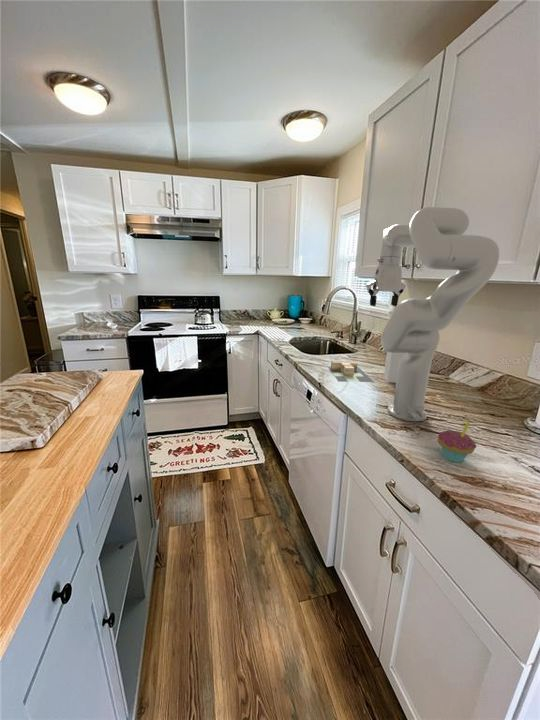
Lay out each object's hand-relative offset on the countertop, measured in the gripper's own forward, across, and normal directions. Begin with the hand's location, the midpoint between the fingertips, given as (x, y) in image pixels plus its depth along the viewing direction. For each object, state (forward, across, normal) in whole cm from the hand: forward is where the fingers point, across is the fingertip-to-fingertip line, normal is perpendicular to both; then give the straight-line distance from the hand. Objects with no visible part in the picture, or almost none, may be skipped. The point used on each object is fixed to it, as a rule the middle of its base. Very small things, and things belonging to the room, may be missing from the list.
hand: (383, 305), depth 122 cm
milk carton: (+35, +11, 0) cm, 37 cm away
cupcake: (+33, -9, -55) cm, 65 cm away
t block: (+34, -6, +14) cm, 37 cm away
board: (+35, -6, +12) cm, 37 cm away
